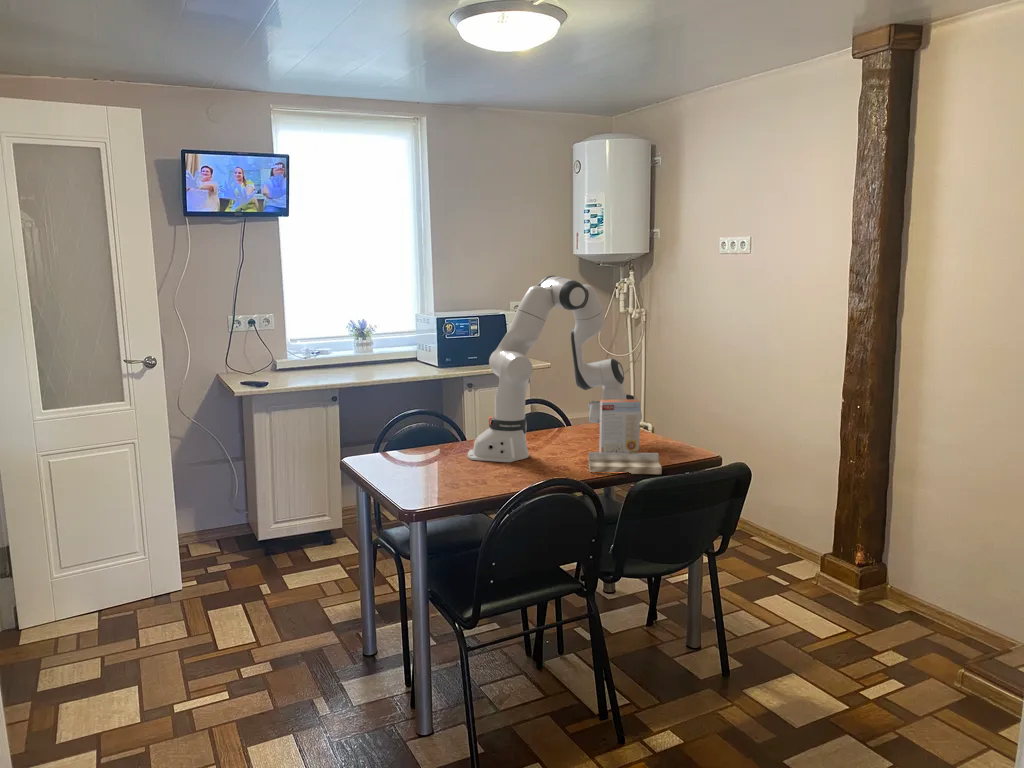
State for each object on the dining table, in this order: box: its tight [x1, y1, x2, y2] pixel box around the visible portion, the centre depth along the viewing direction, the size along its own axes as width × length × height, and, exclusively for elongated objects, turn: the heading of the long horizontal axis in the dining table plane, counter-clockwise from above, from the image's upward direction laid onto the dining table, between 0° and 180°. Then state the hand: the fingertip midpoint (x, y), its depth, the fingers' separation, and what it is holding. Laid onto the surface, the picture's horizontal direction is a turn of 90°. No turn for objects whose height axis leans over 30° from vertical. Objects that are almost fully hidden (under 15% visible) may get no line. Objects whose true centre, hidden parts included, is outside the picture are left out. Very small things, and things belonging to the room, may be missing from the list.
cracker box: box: [598, 398, 641, 453], centre depth 283 cm, size 14×6×21 cm, turn 92°
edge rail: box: [588, 451, 660, 463], centre depth 270 cm, size 24×2×5 cm, turn 88°
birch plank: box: [588, 460, 663, 475], centre depth 265 cm, size 24×7×2 cm, turn 88°
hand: (616, 431), depth 295 cm, fingers closed
